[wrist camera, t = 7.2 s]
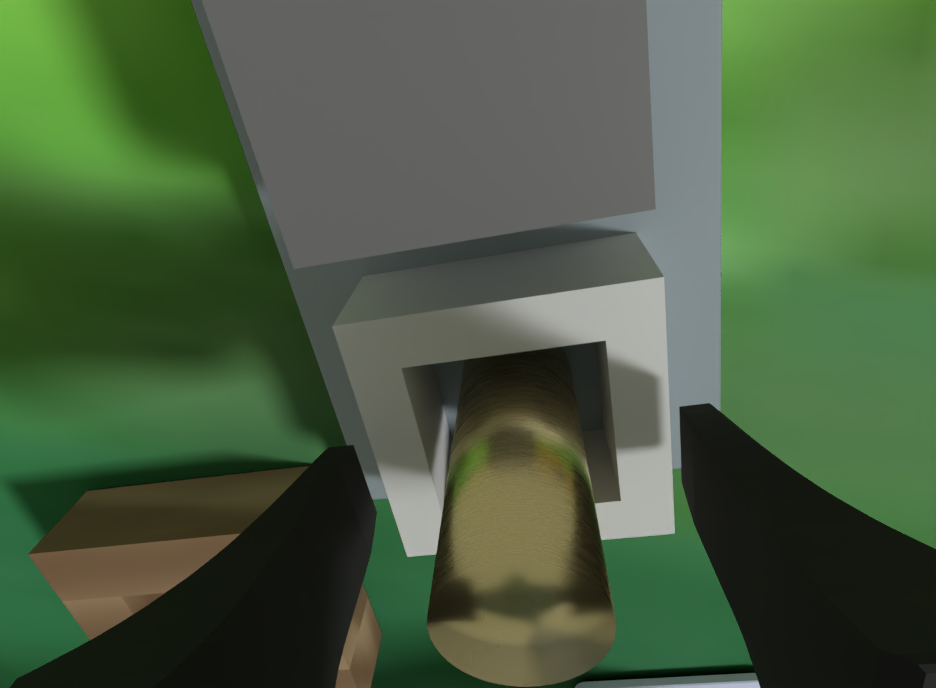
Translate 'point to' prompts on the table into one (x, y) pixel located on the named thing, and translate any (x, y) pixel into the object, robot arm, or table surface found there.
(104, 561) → the pin mount
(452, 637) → the lock pin
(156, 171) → the table surface
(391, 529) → the table surface
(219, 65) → the tool dock
